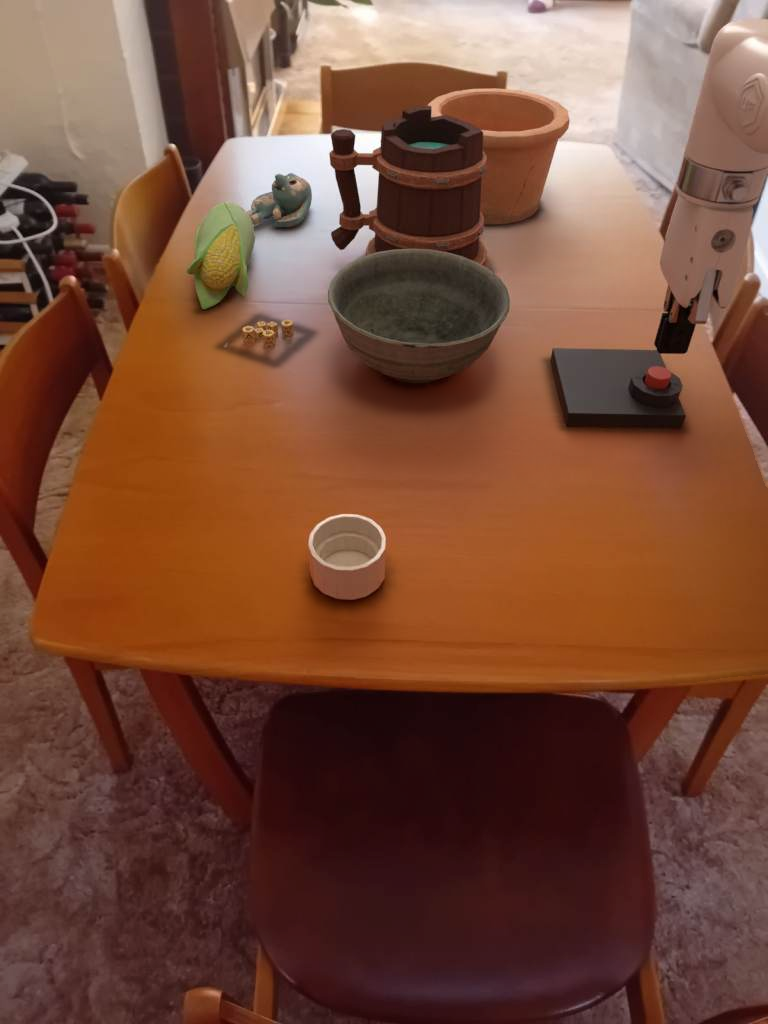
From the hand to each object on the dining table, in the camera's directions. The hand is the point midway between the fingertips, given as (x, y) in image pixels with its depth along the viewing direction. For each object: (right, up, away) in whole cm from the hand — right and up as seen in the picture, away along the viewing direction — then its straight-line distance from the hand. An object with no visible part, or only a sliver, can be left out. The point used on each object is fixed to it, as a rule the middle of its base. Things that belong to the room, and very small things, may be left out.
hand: (669, 349), depth 85 cm
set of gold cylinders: (-46, +4, +15) cm, 48 cm away
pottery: (-14, +33, +45) cm, 58 cm away
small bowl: (-34, -23, -13) cm, 43 cm away
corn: (-53, +16, +27) cm, 62 cm away
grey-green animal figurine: (-48, +29, +40) cm, 69 cm away
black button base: (-4, -4, +8) cm, 9 cm away
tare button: (0, -3, +4) cm, 5 cm away
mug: (-27, +18, +29) cm, 43 cm away
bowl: (-27, +1, +12) cm, 30 cm away
